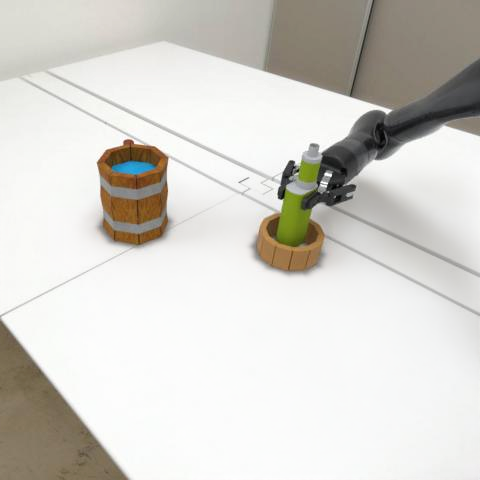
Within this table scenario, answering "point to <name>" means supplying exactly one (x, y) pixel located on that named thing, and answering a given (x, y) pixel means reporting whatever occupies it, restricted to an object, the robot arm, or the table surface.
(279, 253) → the wooden ring
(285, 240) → the vape
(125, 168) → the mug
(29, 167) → the table surface
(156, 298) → the table surface
